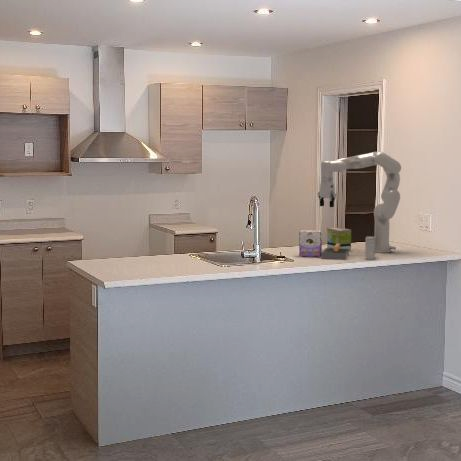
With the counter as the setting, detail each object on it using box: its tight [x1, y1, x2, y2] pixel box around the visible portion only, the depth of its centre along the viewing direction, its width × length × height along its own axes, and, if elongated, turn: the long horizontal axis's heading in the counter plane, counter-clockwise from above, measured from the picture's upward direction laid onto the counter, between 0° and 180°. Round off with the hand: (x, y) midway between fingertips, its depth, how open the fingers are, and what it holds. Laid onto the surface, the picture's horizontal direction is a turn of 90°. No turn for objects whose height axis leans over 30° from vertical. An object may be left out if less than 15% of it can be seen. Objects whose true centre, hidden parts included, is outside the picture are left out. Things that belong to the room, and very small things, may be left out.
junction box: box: [364, 235, 376, 261], centre depth 454 cm, size 5×12×13 cm, turn 165°
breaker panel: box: [320, 247, 350, 261], centre depth 460 cm, size 15×20×4 cm
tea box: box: [326, 226, 352, 252], centre depth 488 cm, size 15×10×15 cm, turn 25°
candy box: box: [298, 229, 323, 258], centre depth 462 cm, size 14×6×16 cm, turn 74°
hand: (326, 206), depth 473 cm, fingers open, 9 cm apart
